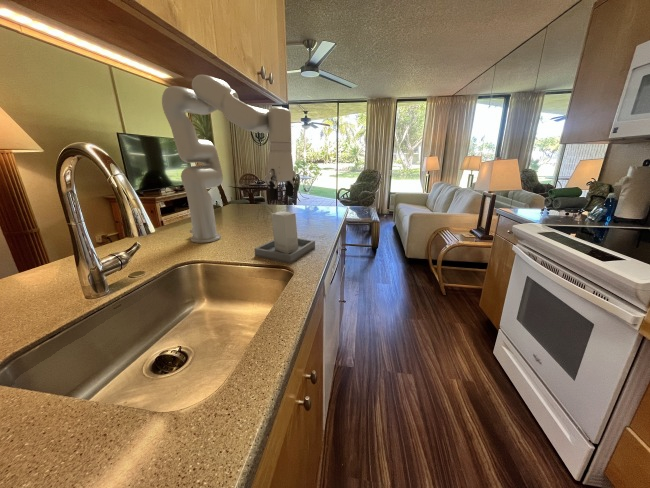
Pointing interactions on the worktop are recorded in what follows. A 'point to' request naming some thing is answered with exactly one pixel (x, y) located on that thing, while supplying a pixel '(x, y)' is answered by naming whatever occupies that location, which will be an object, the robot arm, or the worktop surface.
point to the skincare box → (285, 231)
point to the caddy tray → (271, 253)
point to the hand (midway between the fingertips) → (282, 197)
